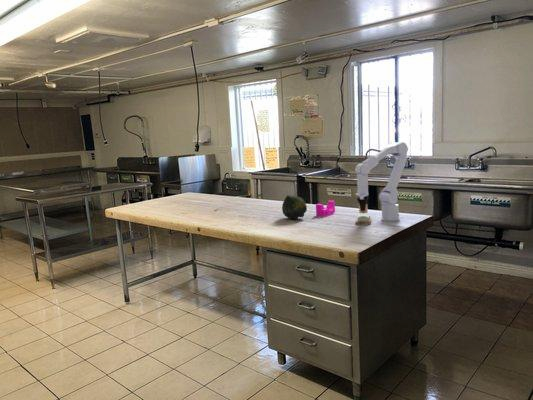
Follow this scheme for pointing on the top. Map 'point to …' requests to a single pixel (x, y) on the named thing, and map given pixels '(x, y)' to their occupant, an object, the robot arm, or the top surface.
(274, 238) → the top surface
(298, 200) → the squash
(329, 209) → the toy block
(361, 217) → the tower top
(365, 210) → the terracotta cylinder
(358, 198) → the robot arm
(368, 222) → the tower base
